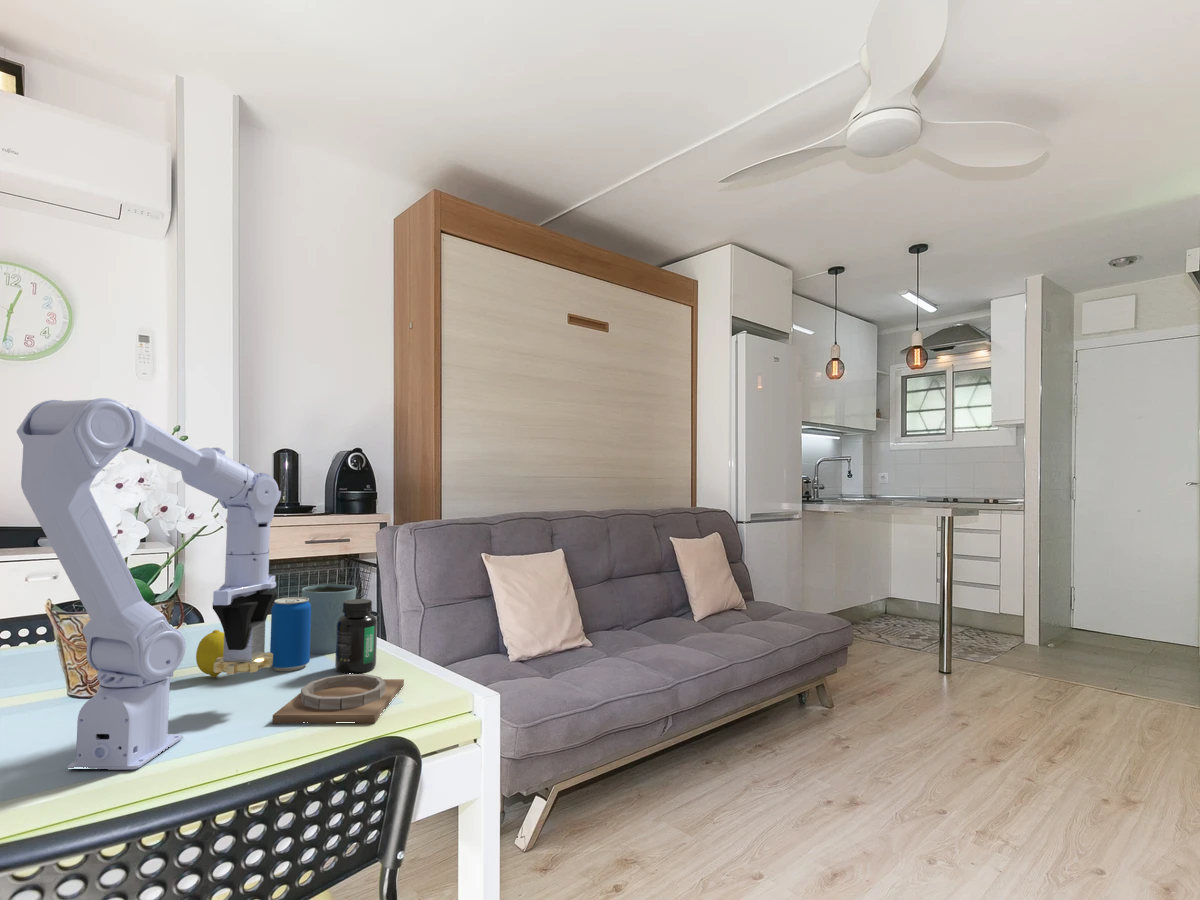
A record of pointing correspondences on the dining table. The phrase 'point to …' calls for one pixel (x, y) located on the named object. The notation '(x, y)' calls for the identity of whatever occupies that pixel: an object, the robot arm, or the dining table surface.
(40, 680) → the dining table surface
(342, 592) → the green plant pot
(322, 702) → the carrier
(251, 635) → the gear
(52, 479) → the robot arm
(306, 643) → the beverage can
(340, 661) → the supplement bottle
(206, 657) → the lemon
